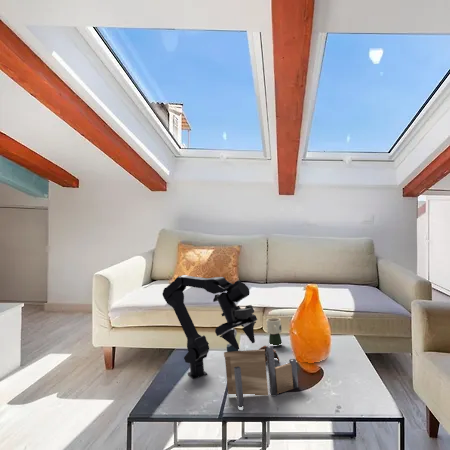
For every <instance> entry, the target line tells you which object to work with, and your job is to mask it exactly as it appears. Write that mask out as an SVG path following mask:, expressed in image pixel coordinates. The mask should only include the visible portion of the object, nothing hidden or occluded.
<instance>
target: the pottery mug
mask: <svg viewBox="0 0 450 450" xmlns="http://www.w3.org/2000/svg"><path fill="white" fill-rule="evenodd" d="M266 346H267V345H263V346H261V347H260V348H258V350H261V349H265V363H268V361H267V349H266ZM273 351H274V358H277V359H278V360H277V361H280V358H279V356H278V353H277V352H276V350H275V349H274V348H273Z"/></svg>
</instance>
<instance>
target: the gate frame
mask: <svg viewBox="0 0 450 450" xmlns="http://www.w3.org/2000/svg"><path fill="white" fill-rule="evenodd" d="M265 346H266V349H267V371H268V382H269V395H270V394H271V395H276V396H277V395H279V393H280V394H282V393H284V392H285V393H286V392H287V391H291V390H294V389H295V390H296V389H299V381H298V368H297V359H295V358H290V359H289V361H288V363H285V364H281V365H277V366H276V365H275V364H276V363H275V360H274V351H273V349H274V346H269V345H265ZM234 373H235V384H236V396H237V397H236V404H237V405H238V406H239V407H242V406H244V407H245V404H244V402H245V401H244V397H243V390H242V378H241V368H240V367H239V366H237V367H234ZM271 395H270V396H271ZM237 405H236V406H237Z"/></svg>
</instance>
